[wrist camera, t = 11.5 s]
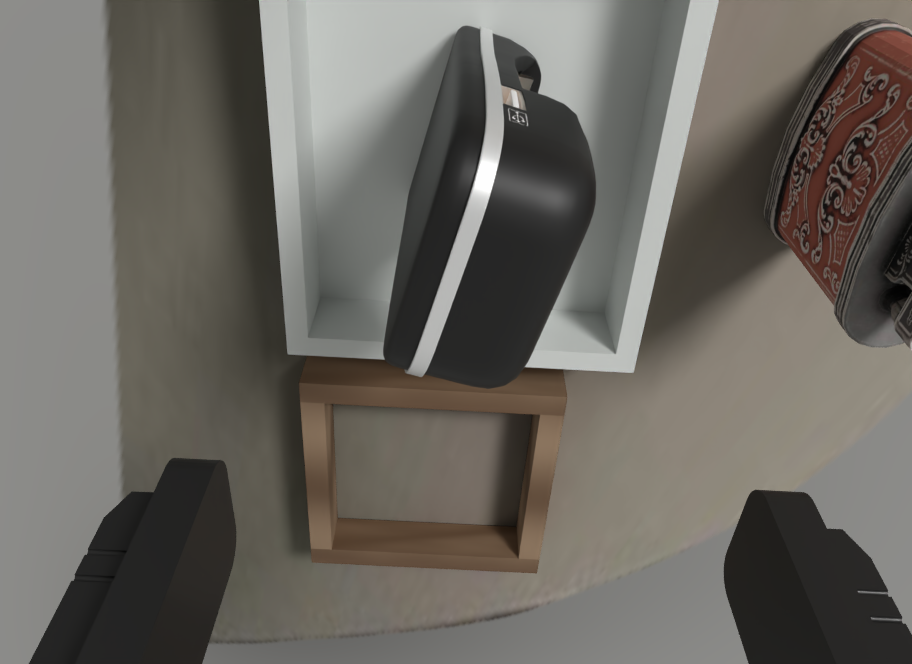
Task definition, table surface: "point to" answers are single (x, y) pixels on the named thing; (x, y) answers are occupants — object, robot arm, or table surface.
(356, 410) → the table surface
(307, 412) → the brown flat square frame
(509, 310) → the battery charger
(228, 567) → the robot arm
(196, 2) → the table surface
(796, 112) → the lighter
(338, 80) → the bin
